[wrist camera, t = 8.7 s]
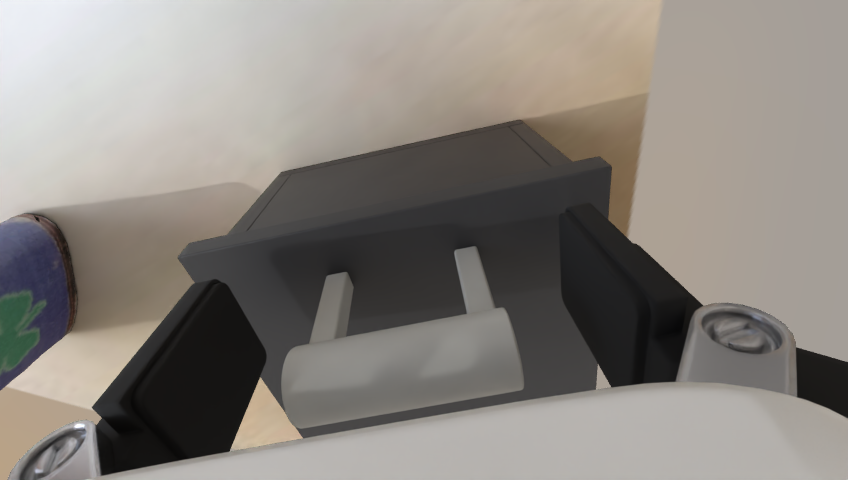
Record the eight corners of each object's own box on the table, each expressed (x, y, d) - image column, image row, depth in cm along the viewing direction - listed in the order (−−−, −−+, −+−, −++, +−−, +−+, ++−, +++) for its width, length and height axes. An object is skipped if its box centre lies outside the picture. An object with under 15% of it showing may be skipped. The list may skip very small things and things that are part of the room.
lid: (188, 242, 12) (56, 398, 7) (599, 155, 11) (741, 268, 6) (345, 479, 20) (329, 621, 15) (584, 440, 19) (642, 577, 15)
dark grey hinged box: (280, 171, 20) (214, 247, 13) (520, 119, 19) (585, 170, 12) (360, 364, 27) (345, 479, 20) (537, 332, 26) (584, 439, 19)
